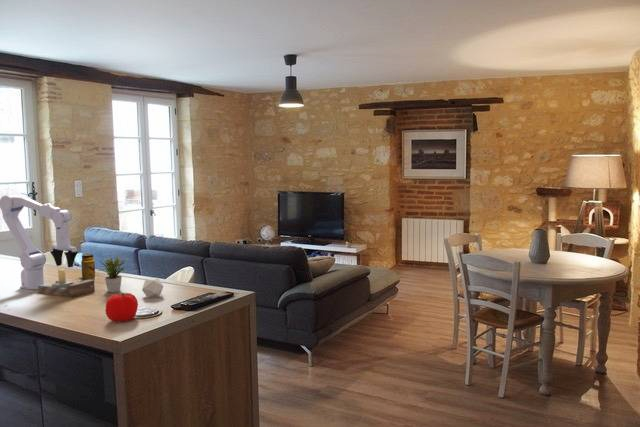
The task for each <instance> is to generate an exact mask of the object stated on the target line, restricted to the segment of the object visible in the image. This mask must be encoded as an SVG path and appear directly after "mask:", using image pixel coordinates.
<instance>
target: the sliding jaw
mask: <svg viewBox="0 0 640 427" xmlns="http://www.w3.org/2000/svg"><path fill="white" fill-rule="evenodd" d="M57 275H58V280H59V283H56V282H55V283H52V284H51V285H52V286H56V287H62V288H67V285H70V284H73V282H74V281H68V280H66V279H67V278H66V269H57Z"/></svg>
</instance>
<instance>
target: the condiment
mask: <svg viewBox="0 0 640 427" xmlns="http://www.w3.org/2000/svg"><path fill="white" fill-rule="evenodd" d="M94 258H95V257H94V254H92V253H87V254H86V253H85V254H82V255H81V261H80V264H81V265H80V266H81V277H76V280H77V281H78V282H82V281H85V280H89V279H90V280H98V278H97V277H96V265H95V262H96V261H95V259H94Z"/></svg>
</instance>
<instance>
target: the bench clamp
mask: <svg viewBox="0 0 640 427" xmlns="http://www.w3.org/2000/svg"><path fill="white" fill-rule="evenodd" d="M72 282H73V284H70V285H67V288H62V287H56V286H52V284H51V285H49V286H47V285H48V284H45V285H38V289H36V293H39V294H45V295H51V296H53V295H54V296H59V297H66V298H75V297H79V296H82V295H85V294H90V293H93V292H95V291H96V289H95V288H96V287H95V279H93V280H90V279H89V280H83V281H78V282H76V281H75V282H74V281H72ZM55 283H59V279H57V280H55Z"/></svg>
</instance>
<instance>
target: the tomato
mask: <svg viewBox="0 0 640 427" xmlns="http://www.w3.org/2000/svg"><path fill="white" fill-rule="evenodd" d="M138 308H139V302H138V299H137V298H136V296H135V295H134V294H133V293H128V292H121V293H117V292H115V293H114V294H112V295H110V296H109V298H108V299H107V301H106V302H105V316H106V317H107V319H109V321H111V322H114V323H126V322H129V321H131V320H133V319H134V318H135V316H136V315H137V312H138Z"/></svg>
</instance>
